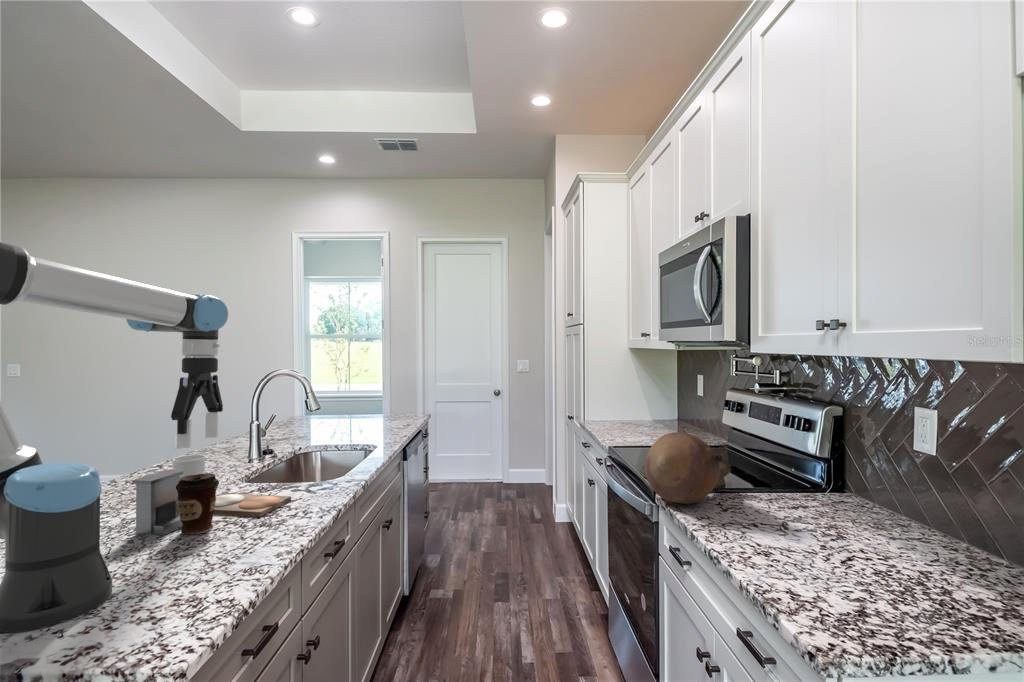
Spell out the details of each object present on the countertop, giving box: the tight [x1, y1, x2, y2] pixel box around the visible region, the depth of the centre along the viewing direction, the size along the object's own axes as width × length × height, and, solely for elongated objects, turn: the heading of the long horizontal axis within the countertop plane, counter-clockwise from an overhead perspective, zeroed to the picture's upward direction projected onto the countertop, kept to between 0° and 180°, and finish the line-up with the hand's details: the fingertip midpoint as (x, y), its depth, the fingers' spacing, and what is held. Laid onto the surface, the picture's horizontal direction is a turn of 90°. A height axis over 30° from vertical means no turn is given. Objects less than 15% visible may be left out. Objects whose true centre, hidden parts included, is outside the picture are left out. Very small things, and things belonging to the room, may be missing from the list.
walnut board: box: [213, 492, 292, 518], centre depth 131 cm, size 13×21×2 cm, turn 81°
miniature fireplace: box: [132, 469, 183, 536], centre depth 116 cm, size 9×8×13 cm
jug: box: [641, 431, 732, 505], centre depth 138 cm, size 20×20×30 cm
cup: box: [172, 454, 207, 478], centre depth 137 cm, size 8×8×12 cm
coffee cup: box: [176, 472, 220, 535], centre depth 114 cm, size 9×8×13 cm
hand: (198, 442), depth 119 cm, fingers open, 13 cm apart
